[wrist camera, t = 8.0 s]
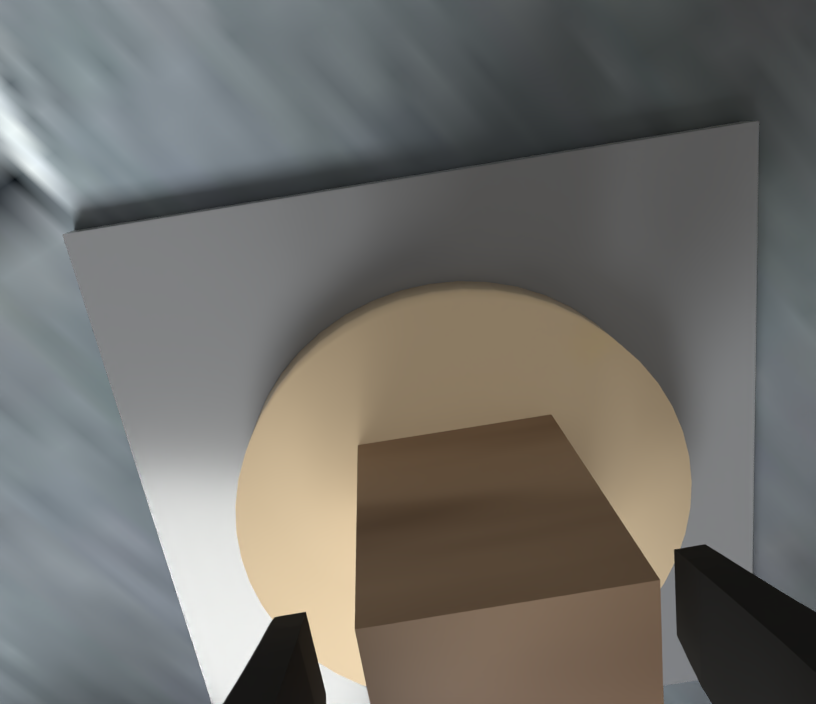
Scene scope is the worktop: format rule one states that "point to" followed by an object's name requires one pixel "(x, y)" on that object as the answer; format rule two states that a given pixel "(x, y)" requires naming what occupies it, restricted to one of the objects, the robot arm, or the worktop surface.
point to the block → (499, 574)
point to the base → (408, 229)
